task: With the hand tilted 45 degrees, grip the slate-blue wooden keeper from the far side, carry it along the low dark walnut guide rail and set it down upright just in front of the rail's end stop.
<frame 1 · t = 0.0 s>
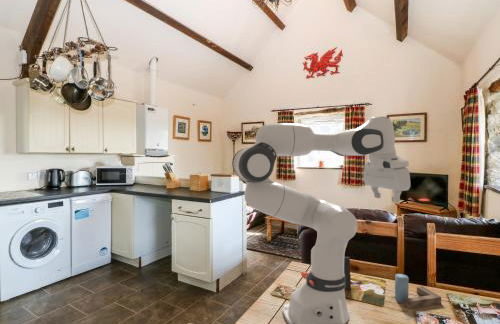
hand: (386, 199, 97), 39 cm above the table, tool pointing down, fingers open, 8 cm apart
stop rail: (413, 299, 102), on the table
door stopper: (342, 284, 115), on the table
keeper: (401, 299, 102), on the table
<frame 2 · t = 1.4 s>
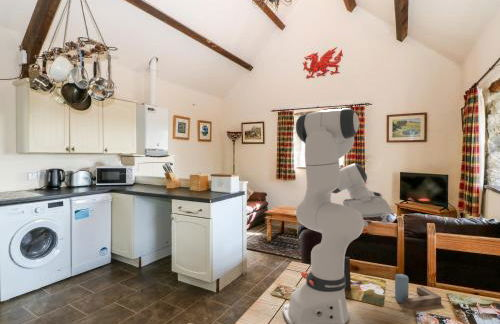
hand: (375, 224, 116), 25 cm above the table, tool tilted 45°, fingers open, 8 cm apart
nothing on the table moved.
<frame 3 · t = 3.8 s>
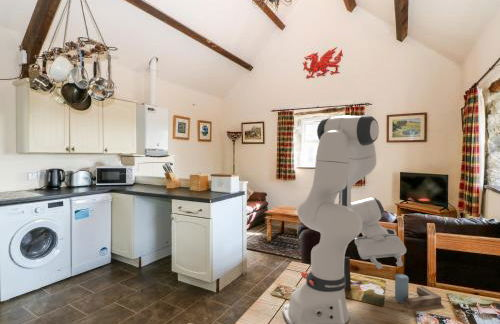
hand: (390, 267, 108), 10 cm above the table, tool tilted 45°, fingers open, 8 cm apart
nothing on the table moved.
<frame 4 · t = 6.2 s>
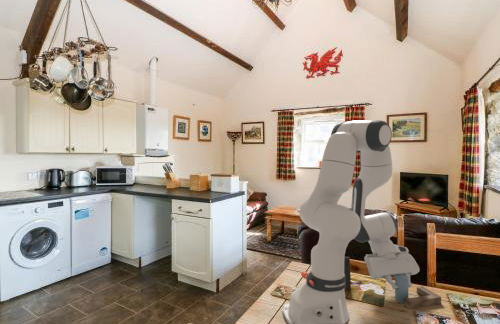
hand: (403, 287, 101), 5 cm above the table, tool tilted 45°, fingers closed on keeper, 4 cm apart
keeper: (401, 299, 102), on the table, touching gripper
everything else where it was.
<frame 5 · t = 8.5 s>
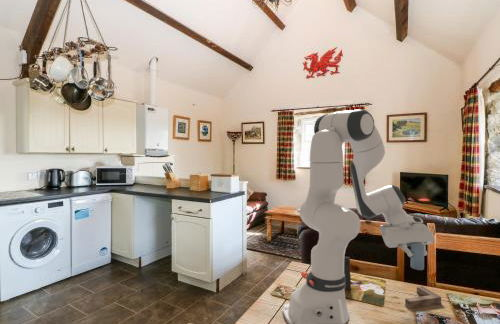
hand: (418, 255, 102), 17 cm above the table, tool tilted 45°, fingers closed on keeper, 4 cm apart
keeper: (417, 267, 103), point 12 cm above the table, touching gripper
everything else where it was.
when the fingers open (6 cm above the table, at t = 11.1 s): keeper drops 1 cm, on the table.
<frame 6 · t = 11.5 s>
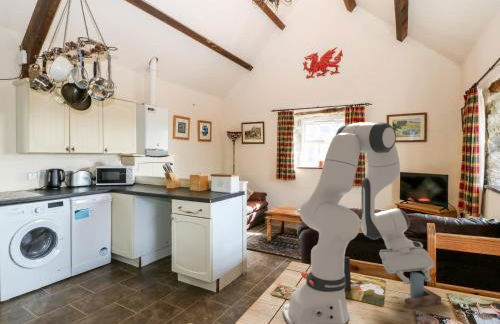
hand: (418, 282, 103), 6 cm above the table, tool tilted 45°, fingers open, 8 cm apart
keeper: (416, 297, 103), on the table
everything else where it was.
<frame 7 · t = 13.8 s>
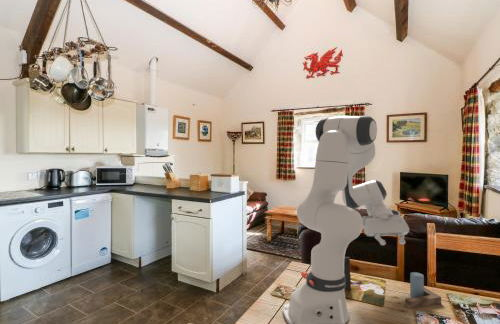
hand: (393, 244, 115), 17 cm above the table, tool tilted 45°, fingers open, 8 cm apart
nothing on the table moved.
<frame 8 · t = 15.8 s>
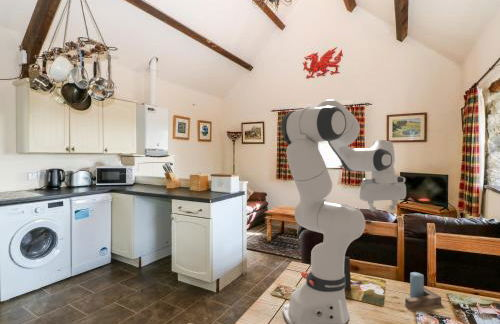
hand: (382, 210, 115), 31 cm above the table, tool pointing down, fingers open, 8 cm apart
nothing on the table moved.
at the end: keeper 0.2 cm from the target spot, on the table; keeper tilted 0°; the gripper is holding nothing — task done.
